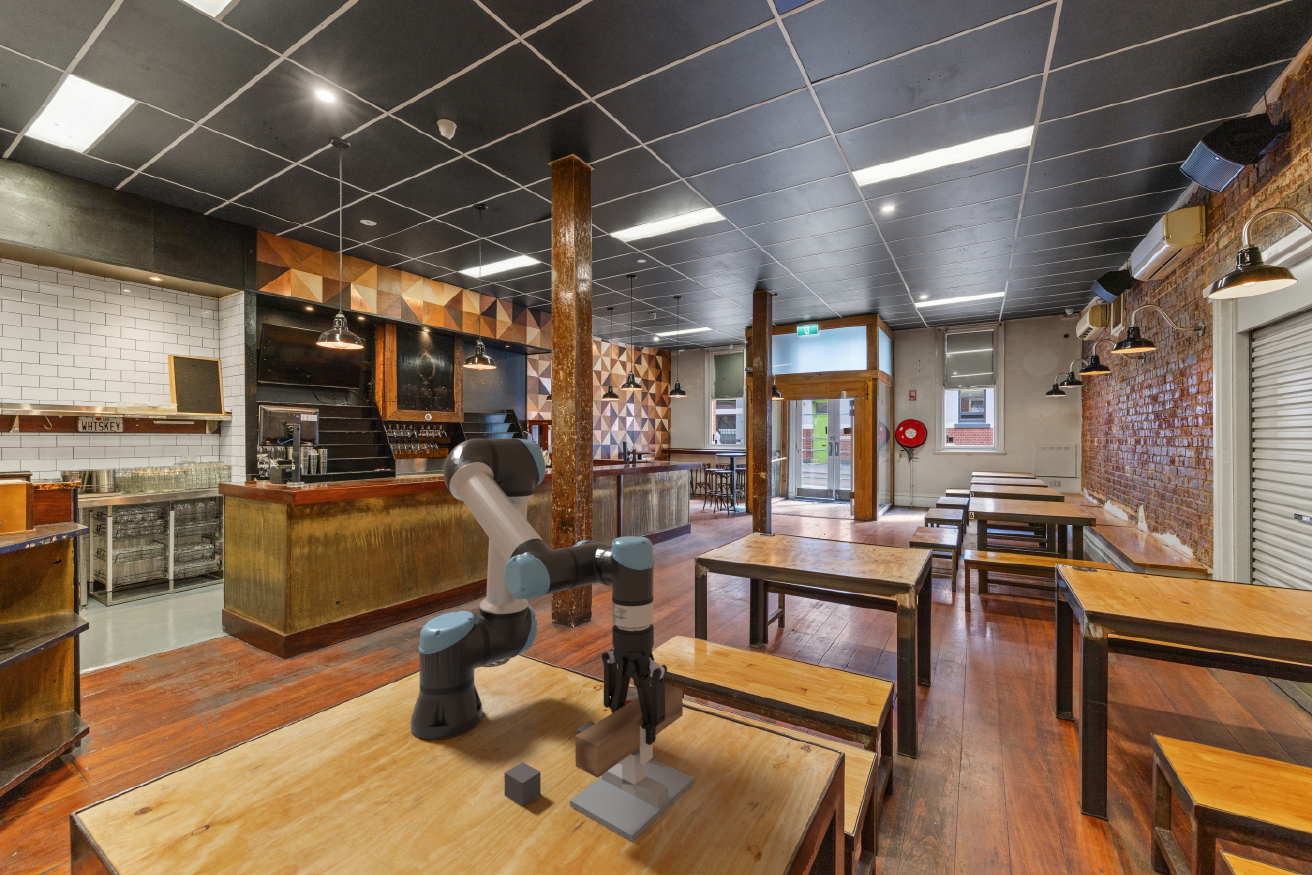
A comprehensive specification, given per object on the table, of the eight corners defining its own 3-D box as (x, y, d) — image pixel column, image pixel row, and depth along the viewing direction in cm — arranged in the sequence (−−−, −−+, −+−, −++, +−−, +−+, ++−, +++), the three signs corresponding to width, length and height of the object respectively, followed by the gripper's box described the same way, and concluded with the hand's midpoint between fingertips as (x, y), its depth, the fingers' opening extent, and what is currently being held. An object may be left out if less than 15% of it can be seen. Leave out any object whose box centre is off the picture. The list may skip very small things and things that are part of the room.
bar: (575, 766, 86) (575, 735, 86) (661, 707, 105) (661, 682, 105) (597, 777, 83) (597, 745, 83) (682, 715, 102) (682, 689, 102)
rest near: (504, 795, 94) (504, 772, 94) (522, 783, 97) (522, 761, 97) (522, 806, 91) (522, 783, 91) (540, 794, 94) (540, 771, 94)
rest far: (576, 748, 108) (576, 729, 108) (590, 739, 111) (590, 720, 111) (594, 757, 105) (594, 736, 105) (608, 747, 108) (607, 728, 108)
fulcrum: (569, 805, 91) (569, 759, 91) (635, 756, 105) (635, 716, 105) (632, 841, 82) (631, 790, 83) (693, 783, 97) (693, 739, 97)
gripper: (582, 620, 97) (583, 747, 96) (661, 641, 86) (662, 784, 85) (609, 609, 103) (610, 729, 102) (686, 628, 92) (687, 762, 91)
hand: (633, 754), depth 94 cm, fingers closed on bar, 5 cm apart
